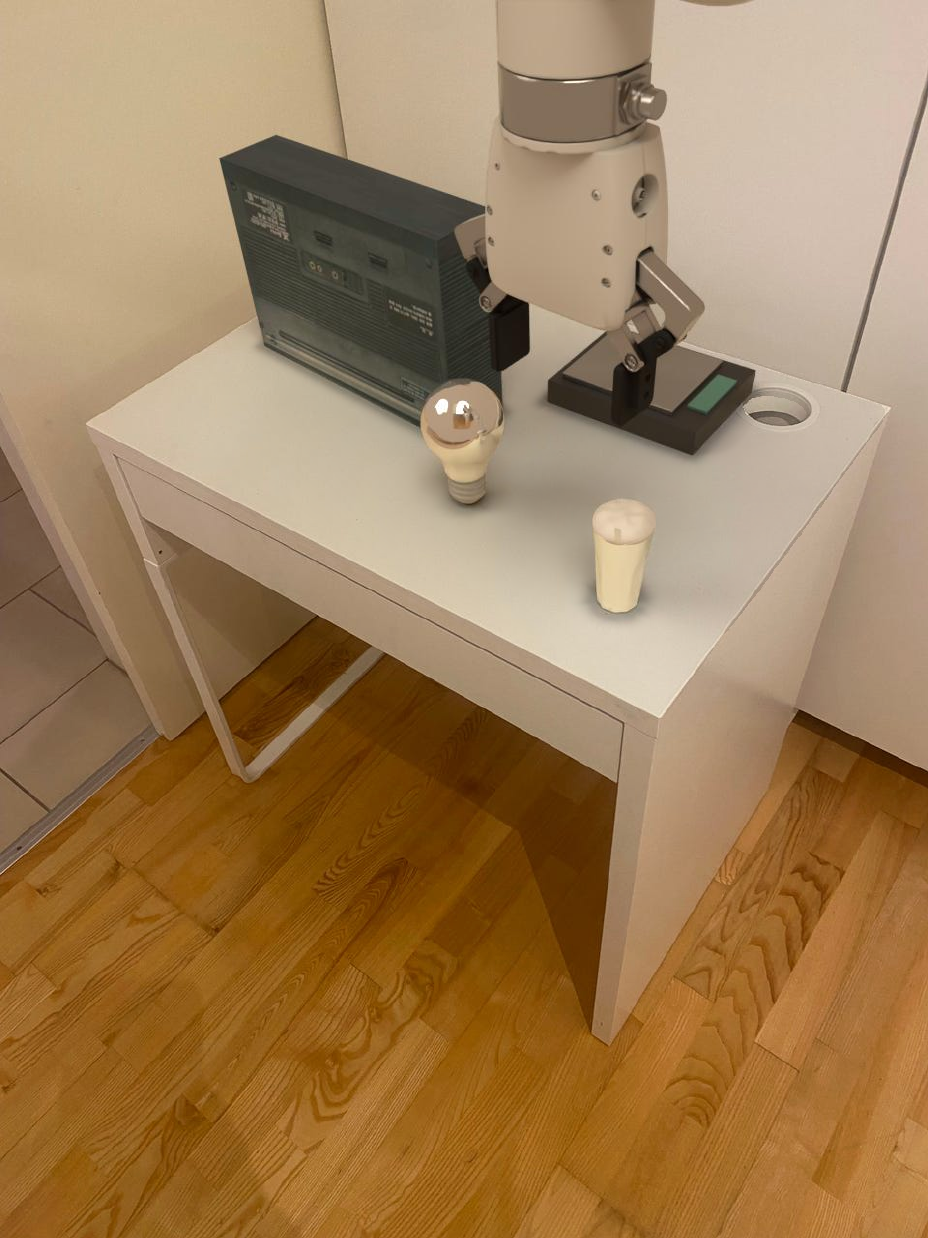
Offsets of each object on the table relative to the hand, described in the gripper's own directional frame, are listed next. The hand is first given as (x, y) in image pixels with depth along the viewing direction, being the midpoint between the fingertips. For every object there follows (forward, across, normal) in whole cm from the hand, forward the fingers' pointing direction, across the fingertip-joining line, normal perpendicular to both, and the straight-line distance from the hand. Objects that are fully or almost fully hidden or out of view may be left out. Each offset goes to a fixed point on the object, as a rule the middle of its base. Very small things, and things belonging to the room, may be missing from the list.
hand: (568, 387), depth 61 cm
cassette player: (+20, +36, -14) cm, 44 cm away
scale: (+20, +12, -28) cm, 36 cm away
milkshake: (+20, -3, -3) cm, 21 cm away
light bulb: (+20, +15, -5) cm, 26 cm away
